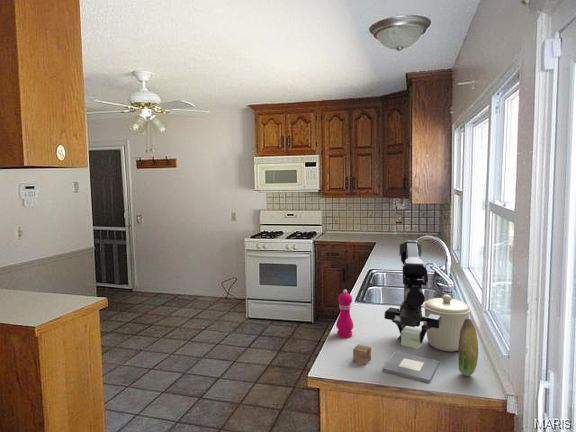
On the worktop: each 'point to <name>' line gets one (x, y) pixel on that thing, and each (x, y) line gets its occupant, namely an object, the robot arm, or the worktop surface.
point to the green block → (411, 337)
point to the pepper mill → (344, 316)
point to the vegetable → (468, 348)
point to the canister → (446, 322)
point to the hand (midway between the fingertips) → (412, 340)
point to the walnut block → (362, 354)
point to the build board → (411, 366)
